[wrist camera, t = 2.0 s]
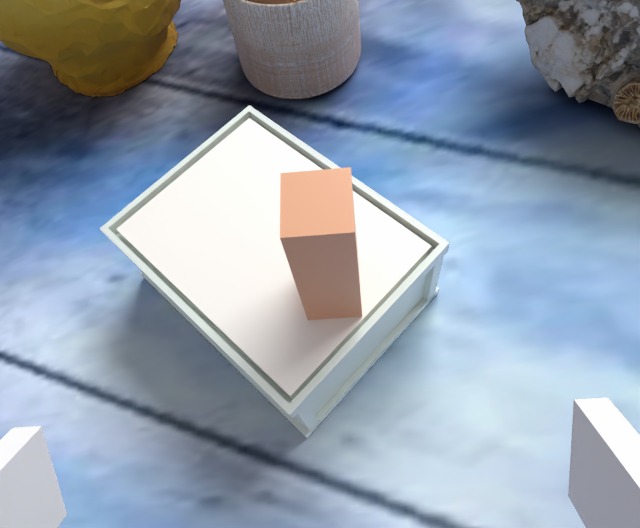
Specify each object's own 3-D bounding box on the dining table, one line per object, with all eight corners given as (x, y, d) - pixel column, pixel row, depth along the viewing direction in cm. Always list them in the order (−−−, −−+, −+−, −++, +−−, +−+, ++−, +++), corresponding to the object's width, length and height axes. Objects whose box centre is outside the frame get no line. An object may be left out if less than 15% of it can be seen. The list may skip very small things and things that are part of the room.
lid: (430, 252, 31) (449, 142, 22) (292, 400, 28) (252, 337, 19) (251, 125, 37) (212, 0, 28) (121, 235, 34) (32, 131, 25)
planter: (344, 112, 45) (336, 12, 36) (226, 95, 47) (192, -1, 39) (373, 24, 49) (371, -82, 41) (264, 14, 52) (241, -89, 43)
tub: (437, 293, 36) (449, 243, 30) (306, 438, 33) (289, 415, 27) (268, 167, 43) (249, 104, 37) (143, 277, 39) (99, 228, 33)
